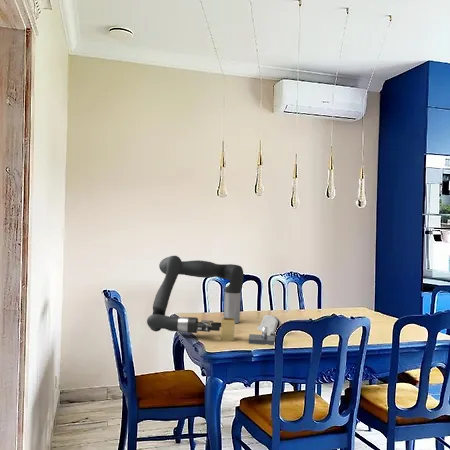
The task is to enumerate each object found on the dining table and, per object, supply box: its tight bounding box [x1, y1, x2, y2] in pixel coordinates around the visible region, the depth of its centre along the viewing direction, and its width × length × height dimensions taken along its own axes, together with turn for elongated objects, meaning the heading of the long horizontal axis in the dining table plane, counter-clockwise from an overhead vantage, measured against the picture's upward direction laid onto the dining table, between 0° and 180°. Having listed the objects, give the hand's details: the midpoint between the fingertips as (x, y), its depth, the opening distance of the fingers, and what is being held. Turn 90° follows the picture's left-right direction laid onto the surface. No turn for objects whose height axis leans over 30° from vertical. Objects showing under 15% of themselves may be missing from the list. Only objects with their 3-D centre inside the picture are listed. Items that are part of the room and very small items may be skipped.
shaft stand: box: [248, 327, 276, 346], centre depth 231 cm, size 11×15×7 cm
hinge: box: [256, 314, 283, 335], centre depth 253 cm, size 17×5×10 cm, turn 20°
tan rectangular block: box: [220, 316, 236, 342], centre depth 233 cm, size 6×6×10 cm
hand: (220, 326), depth 233 cm, fingers open, 8 cm apart
